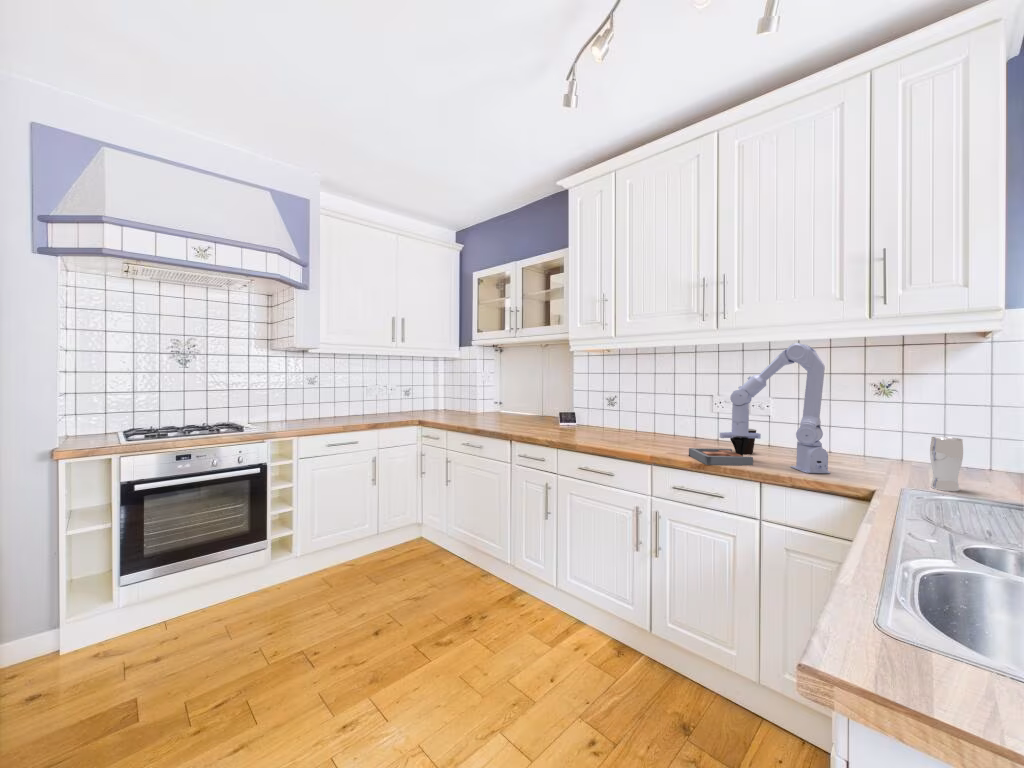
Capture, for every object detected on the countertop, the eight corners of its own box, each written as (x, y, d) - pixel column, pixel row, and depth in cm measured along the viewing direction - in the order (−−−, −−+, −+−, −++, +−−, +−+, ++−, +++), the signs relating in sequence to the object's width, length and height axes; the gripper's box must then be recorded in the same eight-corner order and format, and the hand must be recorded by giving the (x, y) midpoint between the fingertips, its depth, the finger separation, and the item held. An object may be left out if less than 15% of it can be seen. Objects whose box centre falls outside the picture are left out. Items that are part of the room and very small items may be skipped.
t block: (728, 457, 176) (728, 450, 176) (743, 464, 164) (743, 456, 164) (697, 457, 177) (697, 449, 176) (710, 463, 165) (710, 455, 164)
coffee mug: (753, 455, 181) (754, 431, 180) (730, 453, 186) (731, 429, 186) (758, 451, 190) (759, 428, 190) (736, 449, 195) (736, 426, 195)
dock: (752, 465, 161) (753, 457, 161) (706, 464, 162) (706, 456, 162) (730, 456, 179) (730, 448, 179) (688, 455, 180) (688, 448, 180)
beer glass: (934, 485, 135) (936, 435, 135) (965, 490, 129) (967, 439, 129) (924, 487, 132) (926, 437, 132) (956, 493, 126) (958, 440, 126)
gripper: (754, 420, 174) (753, 455, 174) (716, 420, 174) (715, 454, 174) (763, 422, 166) (762, 458, 167) (724, 422, 167) (723, 458, 167)
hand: (739, 457), depth 170 cm, fingers closed
